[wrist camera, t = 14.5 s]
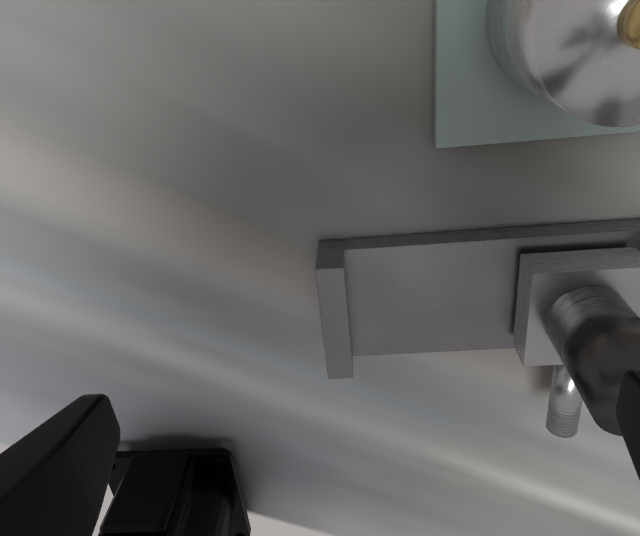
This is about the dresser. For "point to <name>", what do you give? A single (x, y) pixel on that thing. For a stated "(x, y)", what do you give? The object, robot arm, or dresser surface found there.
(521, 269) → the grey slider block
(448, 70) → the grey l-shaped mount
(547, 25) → the silver bell
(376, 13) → the dresser surface
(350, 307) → the rail
